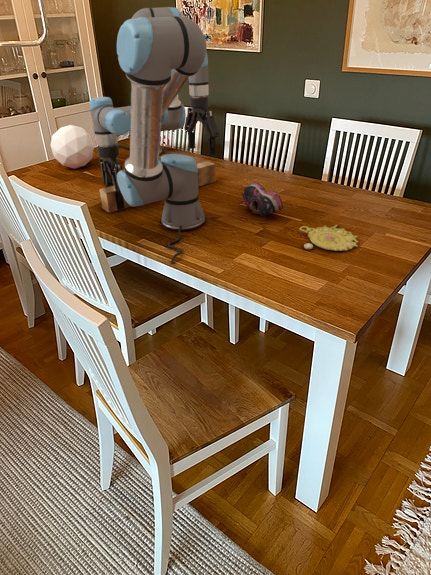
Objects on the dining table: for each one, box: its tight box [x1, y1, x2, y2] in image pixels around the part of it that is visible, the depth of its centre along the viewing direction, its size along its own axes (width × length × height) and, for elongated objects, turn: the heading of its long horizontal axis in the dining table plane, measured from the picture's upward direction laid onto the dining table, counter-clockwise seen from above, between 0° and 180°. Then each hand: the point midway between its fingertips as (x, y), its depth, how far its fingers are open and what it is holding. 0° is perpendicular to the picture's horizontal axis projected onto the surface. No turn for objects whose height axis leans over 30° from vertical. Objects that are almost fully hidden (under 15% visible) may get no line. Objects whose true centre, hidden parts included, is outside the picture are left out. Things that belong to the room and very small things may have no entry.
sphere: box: [50, 124, 95, 170], centre depth 209 cm, size 19×20×20 cm
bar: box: [98, 160, 217, 214], centre depth 178 cm, size 51×6×8 cm, turn 129°
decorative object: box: [299, 224, 359, 252], centre depth 141 cm, size 21×2×20 cm
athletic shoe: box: [238, 182, 284, 217], centre depth 160 cm, size 11×22×12 cm
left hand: (201, 151), depth 183 cm, fingers open, 13 cm apart
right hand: (117, 206), depth 169 cm, fingers closed on bar, 6 cm apart
